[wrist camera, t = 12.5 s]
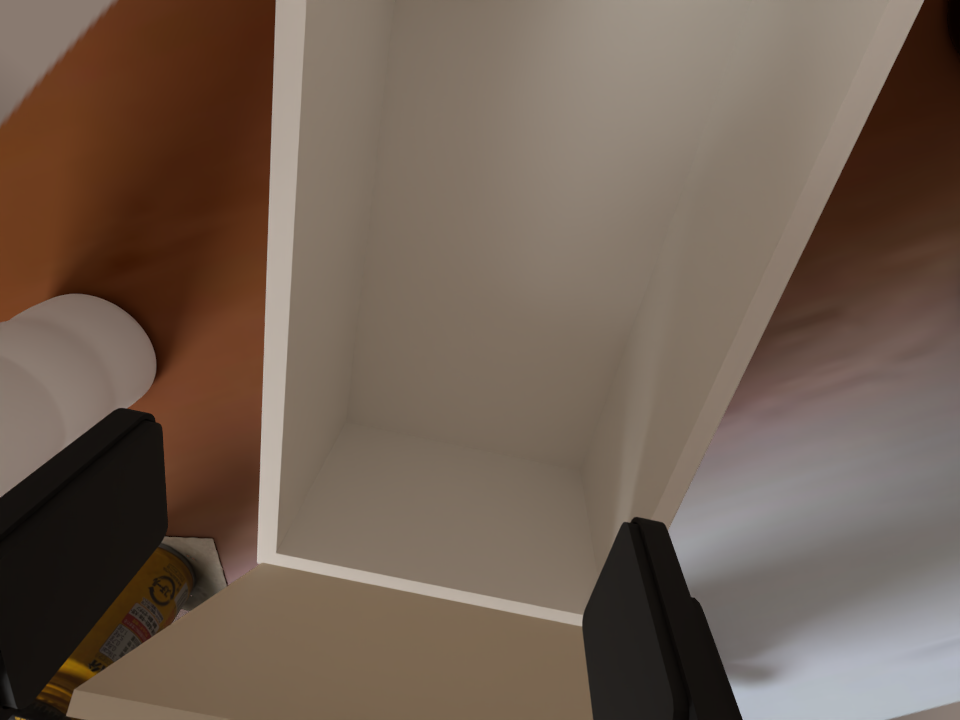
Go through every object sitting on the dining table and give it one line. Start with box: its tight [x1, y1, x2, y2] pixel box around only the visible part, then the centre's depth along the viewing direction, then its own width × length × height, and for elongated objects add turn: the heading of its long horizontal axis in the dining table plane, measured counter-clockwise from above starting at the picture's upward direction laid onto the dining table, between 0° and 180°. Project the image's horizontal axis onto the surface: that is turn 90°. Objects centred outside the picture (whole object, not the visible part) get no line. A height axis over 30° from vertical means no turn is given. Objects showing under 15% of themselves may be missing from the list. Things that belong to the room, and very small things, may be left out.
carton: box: [257, 0, 924, 626], centre depth 23 cm, size 16×26×11 cm, turn 168°
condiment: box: [8, 536, 227, 720], centre depth 34 cm, size 7×8×12 cm
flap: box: [66, 563, 593, 720], centre depth 17 cm, size 15×12×1 cm
